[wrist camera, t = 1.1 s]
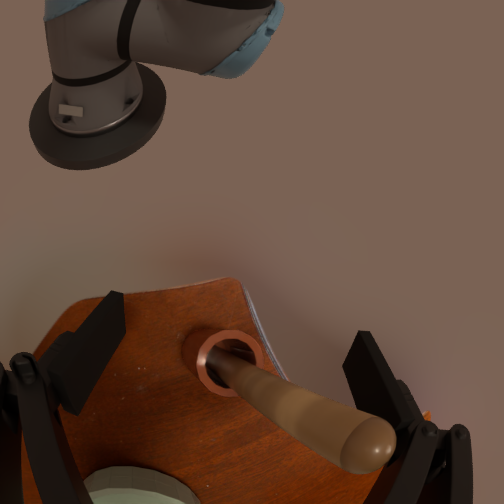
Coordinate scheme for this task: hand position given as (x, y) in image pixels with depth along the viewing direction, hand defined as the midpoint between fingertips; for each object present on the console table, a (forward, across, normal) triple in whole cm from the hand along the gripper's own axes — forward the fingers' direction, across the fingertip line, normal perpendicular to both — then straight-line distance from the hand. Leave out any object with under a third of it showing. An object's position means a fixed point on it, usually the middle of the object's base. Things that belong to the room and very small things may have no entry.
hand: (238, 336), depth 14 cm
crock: (+12, -2, -12) cm, 17 cm away
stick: (+11, -2, -11) cm, 16 cm away
